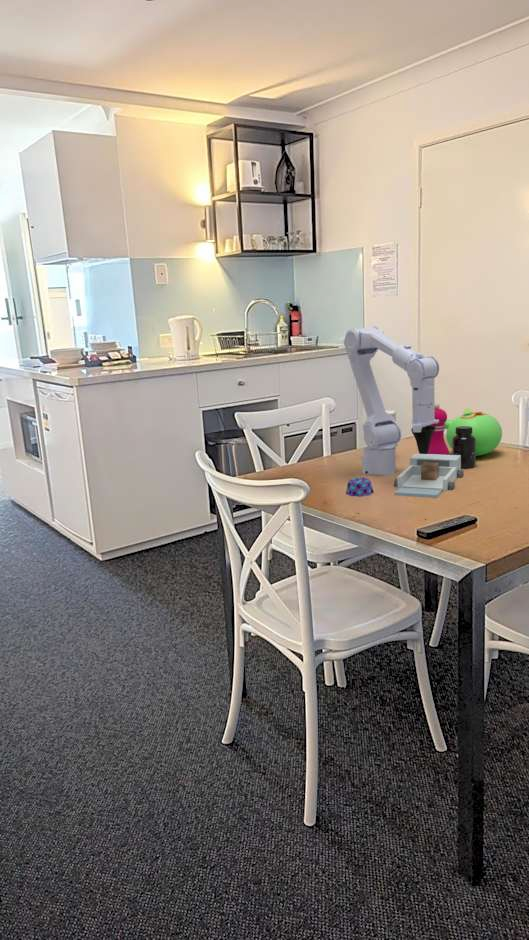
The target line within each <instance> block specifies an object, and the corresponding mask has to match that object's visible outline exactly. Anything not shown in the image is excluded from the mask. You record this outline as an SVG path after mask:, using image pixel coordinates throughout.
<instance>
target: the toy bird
mask: <svg viewBox="0 0 529 940" xmlns="http://www.w3.org/2000/svg"><path fill="white" fill-rule="evenodd" d="M444 424H445V430H446V434H445V435H446V441H447V444H448V445H449V447H450V448H451V449H452V439H453V437H454V436H456V433H455V432H456V427H459V426H470V427H472V432H473V433H472V436H474V437H475V439H476V457H479V456H483V455H484V456H485V455H486V454H489V453H491V452H492V451H494V450H495V449H496V448H497V447H498V446H499V445H500V443H501V441H502V437H503V431H502V430H503V429H502V426H501V424H500V422H499V421H498V420H497V418H496V417H493V416H492V415H490V414H488V413H484V412H482V410H481V411H479V410H477V411H471V409H470V408H469V407H468V408H465V409H464V411H463V413H462V414H461V415H459V416H457V417H456V418H454V419H447V420H446V422H445V423H444Z"/></svg>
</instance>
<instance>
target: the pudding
mask: <svg viewBox="0 0 529 940" xmlns="http://www.w3.org/2000/svg"><path fill="white" fill-rule="evenodd" d="M374 493H375V491H374V489H373V485H372V481H371V480H370V479H369V478H367V477H354V478H351V479H349V481H348V482H347V486H346V491H345V495H347V496H349V497H359V498H360V497H362V498H363V497H365V496H371V495H372V494H374Z"/></svg>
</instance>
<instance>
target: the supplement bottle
mask: <svg viewBox="0 0 529 940" xmlns="http://www.w3.org/2000/svg"><path fill="white" fill-rule="evenodd" d="M455 433H456V436H454V437H453V439H452V448H451V451H452V452H451V453H452V454H451V455H461V469H471V468H474V467H475V466H476V458H477V456H476V439H475V437H474V436H472V433H473V432H472V427H470V426H459V427H456V432H455Z"/></svg>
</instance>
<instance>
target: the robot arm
mask: <svg viewBox="0 0 529 940" xmlns="http://www.w3.org/2000/svg"><path fill="white" fill-rule="evenodd" d="M343 345H344V348H345V352H346V354H347V357H348V359H349V364H350V367H351V369H352V370H351V371H352V373H353V376H354V379H355V383H356V386H357V390H358V391H359V395H360V398H361V401H362V405H363V408H364V411H365V414H366V416H367V418H366V420H365V422H364V423H363V424H362V430H363V440H364V442H365V444H366V446H365V447H364V448H363V450H362V452H361V453H362V454H361V466H362V467H361V469H362V473H361V474H363V475H375V476H390V475H393V474H396V472H397V459H396V457H397V456H396V455H397V453H396V452H395V447H396V448H397V447H398V443H399V442H400V441H401V439H402V431H401V428H400V426H399V425H398V423H397V421H396V422H395V419H394V417H393V416H391V415H389V414H388V413H386V412H385V410H386V408H385V406H384V402H383V399H382V397H381V396H382V395H381V394H380V390H379V387H378V385H377V382H376V381H377V380H376V379H375V376H374V375H375V374H374V373H373V369H372V366H371V360H372V359H373V358H374V357H375V355H376V353H377V352H378V351H381V352H383V353H384V354H387V356H390V357H391V361H392V362H393V364H395V365H396V366H398V367H399V368H400V369H402V370H404V371H405V372H406V373H407V376H408V378H409V381H410V387H411V389H412V390H411V392H412V393H411V394H412V395H411V396H412V400H411V401H412V402H411V403H412V410H411V411H412V413H411V414H412V419H411V424H412V428H411V433H412V435H413V437H414V439H415V441H416V446H417V450H418V452H419V453H418V454H427V453H428V451H429V447H430V442H431V438H432V435H433V433H434V431H435V428H436V427H435V426H429V425H431V424H434V423H439V420H435V419H434V404H435V378H437V377H438V375H439V372H440V364H439V362H438V360H437V359H436V358H435V357H434V356H431V355H430V356H427V357H426V356H424V355H423V353H422V352H418V351H416V350H415V349H413V348H412V345H410V344H401V345H399V344H398V343H397V342H395V341H394V340H392V339H391V338H390V337H389V336H388V335H386V334H385V332H384V330H383V329H381V328H380V327H378V326H371V327H363V328H362V327H361V328H350V329H348V330H347V331H346V334H345V336H344V340H343ZM378 425H379V426H378Z"/></svg>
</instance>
